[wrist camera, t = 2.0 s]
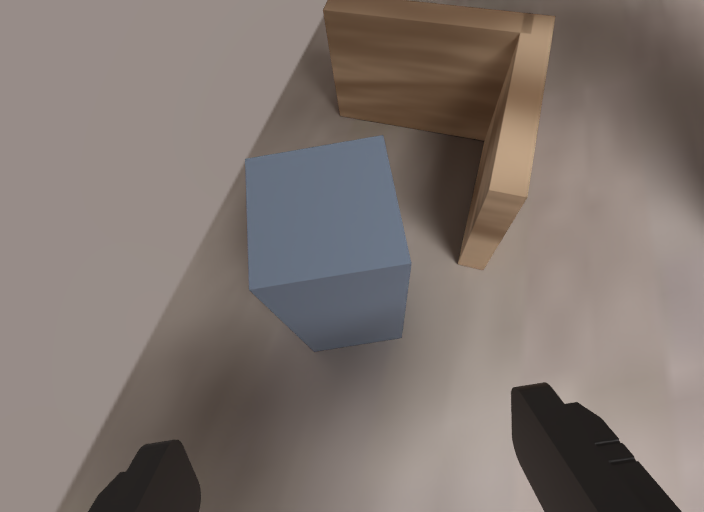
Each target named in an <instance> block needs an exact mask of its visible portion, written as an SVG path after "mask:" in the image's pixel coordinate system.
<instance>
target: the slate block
mask: <svg viewBox="0 0 704 512" xmlns="http://www.w3.org/2000/svg"><path fill="white" fill-rule="evenodd" d="M245 169H246V203H247V236H248V269H249V290H250V291H251V292H252V293H253V294H254V295H255V296H256V297H257V298H258V299H259V300H260V301H261V302H262V303H263V304H264V305H266V306H267V307H268V308H269V309H270V310H271V311H272V312H273V313H274V314H275V315H276V316H277V317H278V318H279V319H280V320H281V321H282V322H283V323H284V324H286V325H287V326H288V327H289V328H290V329H291V330H292V331H293V332H294V333H295V334H296V335H297V336H298V337H299V338H300V339H301V340H302V341H303V342H304V343H305V344H307V345H308V346H309V347H310V348H311V349H312V350H313V351H314V352H316V351H322V350H329V349H335V348H341V347H347V346H354V345H360V344H366V343H373V342H379V341H385V340H392V339H398V338H402V331H403V323H404V316H405V308H406V300H407V293H408V285H409V277H410V270H411V260H410V255H409V251H408V246H407V241H406V237H405V232H404V228H403V223H402V219H401V214H400V210H399V205H398V201H397V196H396V191H395V187H394V182H393V178H392V173H391V169H390V164H389V160H388V155H387V151H386V146H385V141H384V137H383V135H381V136H375V137H369V138H363V139H358V140H352V141H346V142H340V143H335V144H329V145H323V146H317V147H311V148H306V149H300V150H294V151H288V152H282V153H277V154H271V155H265V156H259V157H254V158H248V159H245Z"/></svg>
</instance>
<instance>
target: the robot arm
mask: <svg viewBox="0 0 704 512" xmlns="http://www.w3.org/2000/svg"><path fill="white" fill-rule="evenodd" d="M511 412H512V440H513V445H514V449H515V452H516V455H517V458H518V461H519V463H520V465H521V467H522V469H523V471H524V473H525V475H526V477H527V479H528V481H529V483H530V485H531V487H532V488H533V490H534V492H535V494H536V496H537V498H538V500H539V502H540V504H541V506H542V508H543V510H544V512H681V510H680V509H679V508H678V507H677V506H676V505H675V503H674V502H673V501H672V500H671V499H670V498H669V496H668V495H667V494H666V493H665V492H664V491H663V489H662V488H661V487H660V486H659V485H658V484H657V482H656V481H655V480H654V479H653V478H652V477H651V476H650V474H649V473H648V472H647V471H646V470H645V469H644V467H643V466H642V465H641V464H640V463H639V462H638V461H636V460H635V458H634V456H633V455H632V453H631V452H630V451H629V450H628V449H627V448H626V446H625V445H624V444H623V443H620V441H619V438H618V437H617V436H616V435H615V434H614V432H613V431H612V430H611V429H610V428H609V427H608V425H607V424H606V423H605V422H604V421H603V420H602V418H600V417H599V416H597V415H596V414H594V413H593V412H591V411H590V410H588V409H587V408H585V407H584V406H582V405H581V404H579V403H578V402H575V403H568V404H564V403H563V401H562V400H561V399H560V398H559V396H558V395H557V394H556V392H555V391H554V390H553V389H552V387H551V386H550V385H549V384H547V383H545V382H544V383H538V384H531V385H525V386H519V387H513V388H512V391H511ZM200 501H201V491H200V485H199V482H198V480H197V477H196V475H195V473H194V470H193V468H192V466H191V463H190V461H189V459H188V456H187V454H186V452H185V449H184V447H183V445H182V443H181V442H180V441H179V440H170V441H164V442H158V443H151V444H146V445H144V446H142V447H141V448H140V449H139V451H138V452H137V454H136V456H135V458H134V459H133V461H132V463H131V464H130V466H129V468H128V470H127V471H126V472H120V473H119V474H118V475H117V476H116V477H115V478H114V479H113V480H112V481H111V482H110V483H109V485H108V486H107V487H106V488H105V489H104V490H103V491H102V492H101V493H100V494H99V495H98V497H97V498H96V500H95V501H94V503H93V505H92V506H91V508H90V509H89V511H88V512H199V508H200Z"/></svg>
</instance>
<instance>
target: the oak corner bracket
mask: <svg viewBox="0 0 704 512" xmlns="http://www.w3.org/2000/svg"><path fill="white" fill-rule="evenodd" d="M323 13H324V19H325V25H326V32H327V38H328V44H329V50H330V56H331V63H332V69H333V75H334V81H335V87H336V93H337V100H338V106H339V112H340V116H344V117H349V118H355V119H361V120H367V121H373V122H378V123H384V124H390V125H396V126H402V127H408V128H413V129H419V130H425V131H431V132H437V133H442V134H448V135H454V136H460V137H466V138H471V139H477V140H483V141H484V145H483V150H482V155H481V159H480V164H479V168H478V173H477V178H476V182H475V187H474V191H473V196H472V201H471V205H470V210H469V215H468V219H467V224H466V228H465V233H464V238H463V242H462V247H461V251H460V256H459V261H458V264H459V265H463V266H467V267H472V268H476V269H480V270H484V268H485V267H486V265H487V263H488V262H489V260H490V258H491V257H492V255H493V253H494V252H495V250H496V248H497V247H498V245H499V243H500V242H501V240H502V238H503V237H504V235H505V233H506V232H507V230H508V228H509V227H510V225H511V223H512V222H513V220H514V219H515V217H516V215H517V214H518V212H519V210H520V209H521V207H522V205H523V204H524V202H525V200H526V199H527V196H528V189H529V183H530V176H531V170H532V163H533V157H534V150H535V144H536V138H537V131H538V125H539V118H540V112H541V105H542V99H543V92H544V86H545V80H546V73H547V67H548V60H549V54H550V47H551V41H552V34H553V28H554V22H555V16H549V15H539V14H530V13H520V12H511V11H502V10H492V9H483V8H473V7H464V6H454V5H445V4H436V3H426V2H417V1H407V0H328V1H327V3H326V5H325V7H324V9H323Z"/></svg>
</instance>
